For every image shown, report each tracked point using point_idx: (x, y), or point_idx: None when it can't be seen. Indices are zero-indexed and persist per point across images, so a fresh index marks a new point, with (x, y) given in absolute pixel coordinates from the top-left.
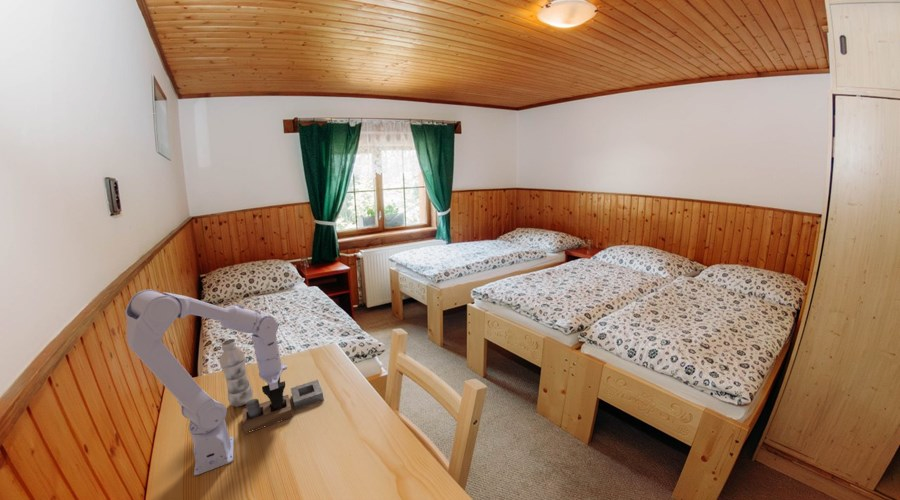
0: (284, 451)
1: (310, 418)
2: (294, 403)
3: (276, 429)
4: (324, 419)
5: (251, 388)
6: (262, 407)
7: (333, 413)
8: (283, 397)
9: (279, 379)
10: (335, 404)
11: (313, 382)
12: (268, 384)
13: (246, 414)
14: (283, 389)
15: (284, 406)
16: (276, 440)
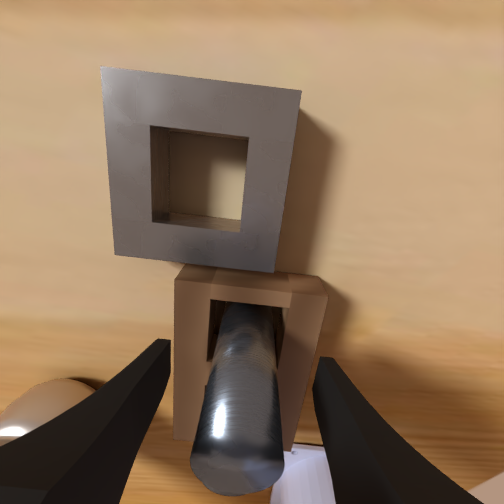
0: (497, 343)
1: (393, 214)
2: (273, 267)
3: (346, 340)
4: (462, 158)
5: (34, 414)
6: (205, 382)
7: (460, 95)
8: (251, 335)
9: (127, 398)
10: (391, 52)
11: (125, 109)
12: (139, 446)
13: None
14: (456, 486)
15: (263, 310)
16: (411, 352)
